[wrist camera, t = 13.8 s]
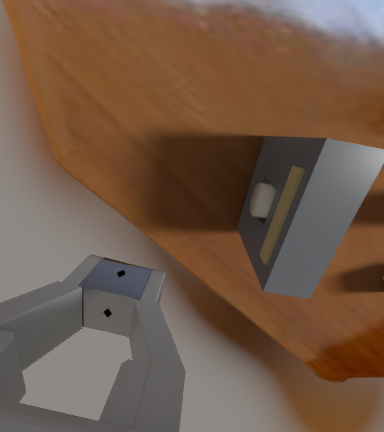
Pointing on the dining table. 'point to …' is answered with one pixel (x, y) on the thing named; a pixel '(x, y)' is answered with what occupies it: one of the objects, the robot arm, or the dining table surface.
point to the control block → (304, 208)
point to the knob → (262, 199)
